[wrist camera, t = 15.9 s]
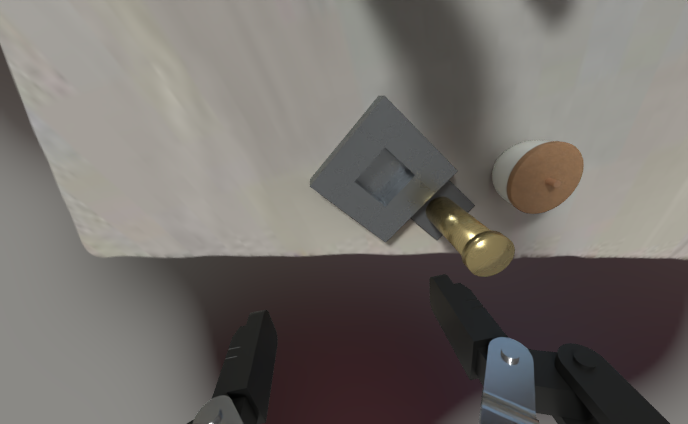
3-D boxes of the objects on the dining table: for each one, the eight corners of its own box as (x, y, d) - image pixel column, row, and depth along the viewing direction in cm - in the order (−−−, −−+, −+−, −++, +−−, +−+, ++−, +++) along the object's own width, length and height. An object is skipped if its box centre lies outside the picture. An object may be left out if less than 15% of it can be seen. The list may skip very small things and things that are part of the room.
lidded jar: (515, 202, 47) (560, 227, 38) (467, 185, 44) (504, 207, 36) (553, 146, 43) (612, 160, 34) (503, 124, 40) (553, 132, 32)
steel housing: (378, 95, 36) (384, 96, 33) (447, 165, 42) (457, 170, 39) (310, 179, 41) (309, 186, 37) (380, 232, 46) (385, 242, 43)
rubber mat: (442, 173, 43) (443, 174, 42) (473, 204, 46) (474, 205, 45) (403, 212, 45) (405, 213, 44) (435, 238, 48) (437, 240, 47)
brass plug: (441, 186, 43) (497, 227, 30) (462, 207, 45) (523, 253, 32) (416, 212, 44) (458, 261, 31) (437, 230, 47) (485, 284, 33)
